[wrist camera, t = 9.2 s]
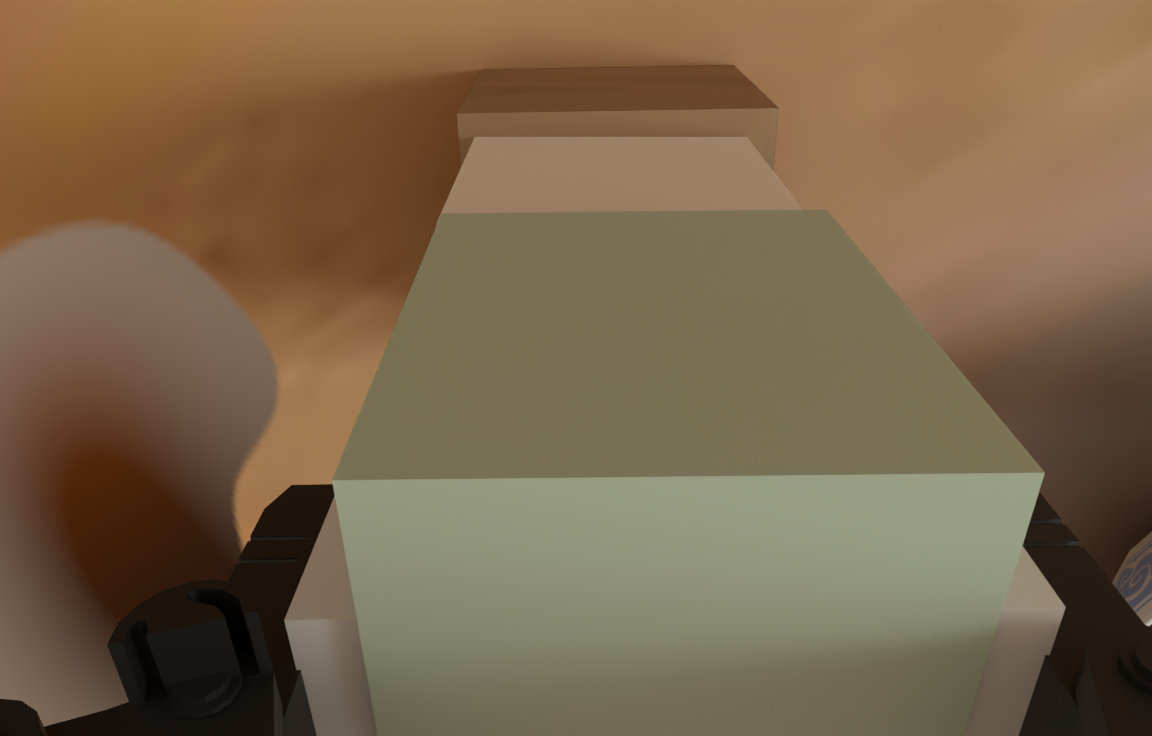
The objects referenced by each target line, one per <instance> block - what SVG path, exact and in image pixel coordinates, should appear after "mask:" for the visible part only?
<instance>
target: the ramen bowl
mask: <svg viewBox="0 0 1152 736" xmlns="http://www.w3.org/2000/svg"><path fill="white" fill-rule="evenodd" d="M1112 584H1113V585H1114V586H1115V588H1116V589H1117V590H1118V591H1119V593H1120V594H1121V595H1122V596H1123V598H1124V599H1125V600H1126V601H1127V603H1128V604H1129V605H1130V606H1131V608H1132V609H1133V610H1134V611H1135V613H1136V614H1137V615H1138V616H1139V618H1140V619H1141V620H1142V621H1143V623H1144V624H1145V625H1147V626H1150V627H1152V532H1150V533H1149V534H1148V535H1147V536H1146V537H1145V538H1144V539H1142V540H1141V541H1140V542H1139V543H1138V544H1137V545H1136V546H1134V547H1133V548H1132V549H1131V550H1130V551H1129V552H1128V554H1127V556H1126V558H1125V560H1124V562H1123V563H1122V565H1121V567H1120V569H1119V571H1118V573H1117V574H1116V576H1115V578H1114V580H1113V582H1112Z"/></svg>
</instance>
